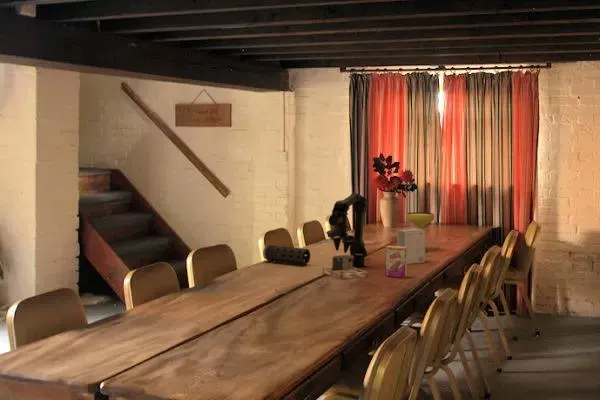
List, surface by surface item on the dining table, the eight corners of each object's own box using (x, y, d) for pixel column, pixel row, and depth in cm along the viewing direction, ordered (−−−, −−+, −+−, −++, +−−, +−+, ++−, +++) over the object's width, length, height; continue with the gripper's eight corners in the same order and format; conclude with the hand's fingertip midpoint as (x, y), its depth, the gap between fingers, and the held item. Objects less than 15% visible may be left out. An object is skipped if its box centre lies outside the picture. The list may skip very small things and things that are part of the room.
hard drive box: (417, 260, 457) (418, 228, 455) (425, 262, 450) (426, 230, 449) (396, 262, 450) (397, 229, 449) (403, 264, 444) (404, 231, 442)
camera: (335, 275, 408) (335, 256, 407) (330, 273, 413) (330, 255, 413) (353, 273, 413) (354, 255, 412) (348, 271, 418) (349, 254, 417)
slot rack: (349, 270, 422) (349, 266, 422) (368, 276, 404) (368, 272, 404) (322, 272, 415) (322, 268, 415) (340, 279, 396) (340, 274, 396)
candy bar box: (384, 276, 405) (385, 246, 404) (386, 275, 410) (387, 245, 408) (405, 278, 401) (405, 248, 400) (407, 276, 406) (407, 246, 405)
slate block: (355, 275, 408) (355, 270, 408) (357, 277, 403) (357, 272, 403) (341, 276, 407) (341, 270, 407) (343, 277, 402) (343, 272, 402)
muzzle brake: (302, 267, 431) (302, 249, 431) (262, 262, 446) (262, 245, 445) (310, 264, 440) (310, 247, 439) (270, 260, 454) (270, 243, 453)
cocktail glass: (401, 249, 502) (402, 212, 500) (426, 248, 506) (427, 212, 504) (412, 253, 484) (413, 215, 482) (437, 252, 489) (438, 215, 486)
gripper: (320, 222, 417) (320, 250, 419) (336, 226, 401) (336, 255, 402) (338, 221, 422) (337, 248, 424) (354, 225, 406) (354, 253, 407)
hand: (341, 251), depth 414 cm, fingers open, 9 cm apart
